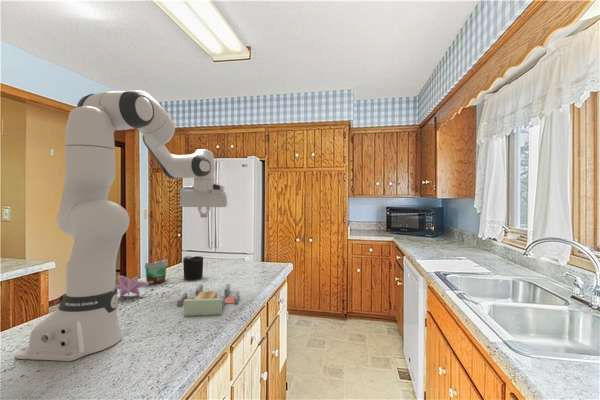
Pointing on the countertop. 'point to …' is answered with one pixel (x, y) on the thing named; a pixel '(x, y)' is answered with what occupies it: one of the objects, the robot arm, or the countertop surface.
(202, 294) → the honey block
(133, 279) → the lily
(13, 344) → the countertop surface
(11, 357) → the countertop surface
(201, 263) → the pen holder
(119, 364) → the countertop surface
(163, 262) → the food container
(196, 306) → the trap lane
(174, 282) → the countertop surface
